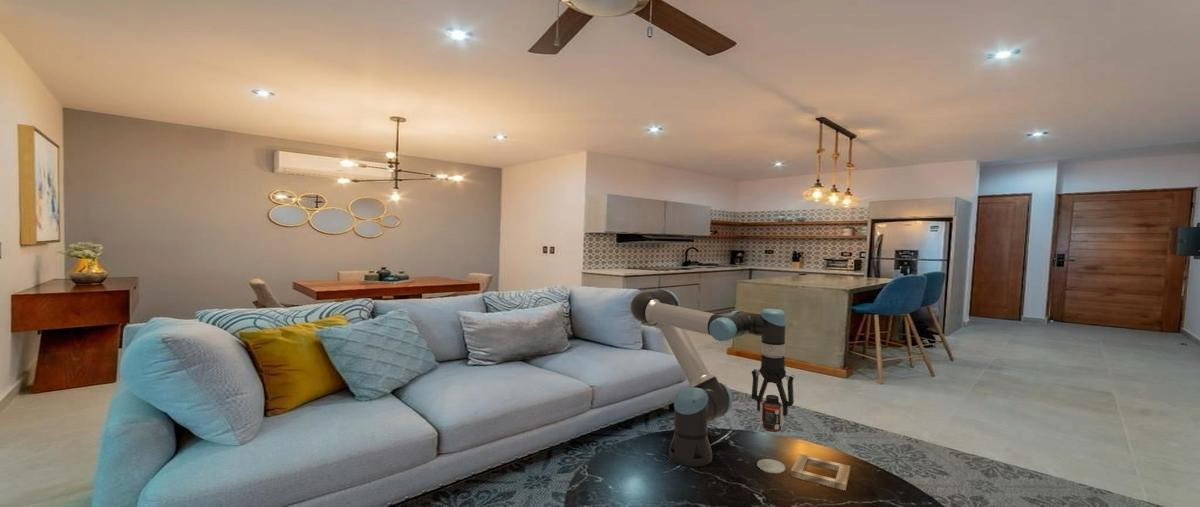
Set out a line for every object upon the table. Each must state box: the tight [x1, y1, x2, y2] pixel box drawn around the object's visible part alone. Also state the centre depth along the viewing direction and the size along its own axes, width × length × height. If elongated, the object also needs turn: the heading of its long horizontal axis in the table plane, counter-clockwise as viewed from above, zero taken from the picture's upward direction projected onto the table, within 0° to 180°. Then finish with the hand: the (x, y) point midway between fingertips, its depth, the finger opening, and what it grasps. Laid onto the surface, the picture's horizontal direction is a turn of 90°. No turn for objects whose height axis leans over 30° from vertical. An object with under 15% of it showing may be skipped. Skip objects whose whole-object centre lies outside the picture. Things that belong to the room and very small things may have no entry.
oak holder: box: [790, 453, 851, 491], centre depth 158 cm, size 16×14×2 cm
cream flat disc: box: [757, 458, 786, 475], centre depth 163 cm, size 9×9×1 cm
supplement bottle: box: [762, 394, 782, 433], centre depth 162 cm, size 6×6×11 cm
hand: (771, 422), depth 162 cm, fingers closed on supplement bottle, 6 cm apart
